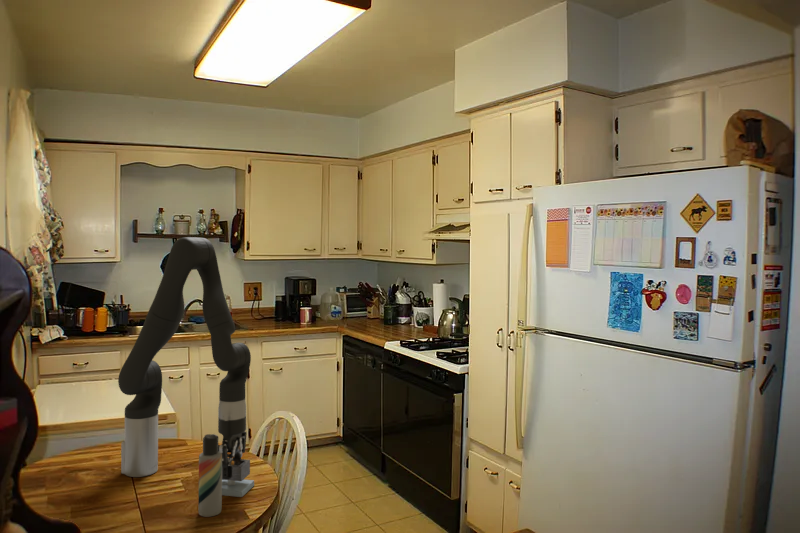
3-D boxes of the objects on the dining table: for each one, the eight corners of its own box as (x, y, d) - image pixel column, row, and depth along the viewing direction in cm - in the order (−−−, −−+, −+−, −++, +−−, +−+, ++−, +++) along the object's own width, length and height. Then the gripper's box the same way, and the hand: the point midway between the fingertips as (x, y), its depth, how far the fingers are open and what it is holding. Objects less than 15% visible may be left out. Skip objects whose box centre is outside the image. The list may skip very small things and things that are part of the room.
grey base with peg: (208, 493, 163) (208, 465, 163) (221, 482, 171) (221, 455, 171) (241, 497, 161) (242, 468, 161) (254, 485, 169) (254, 457, 169)
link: (214, 478, 164) (214, 464, 164) (223, 471, 170) (223, 457, 169) (241, 481, 163) (241, 467, 162) (249, 473, 168) (250, 459, 168)
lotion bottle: (201, 507, 155) (202, 431, 154) (223, 507, 155) (224, 431, 154) (195, 517, 149) (196, 439, 148) (218, 517, 149) (219, 438, 149)
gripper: (231, 407, 173) (231, 464, 174) (207, 421, 159) (206, 483, 160) (255, 409, 172) (255, 466, 172) (233, 423, 158) (232, 485, 158)
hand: (231, 474), depth 166 cm, fingers closed on link, 5 cm apart
